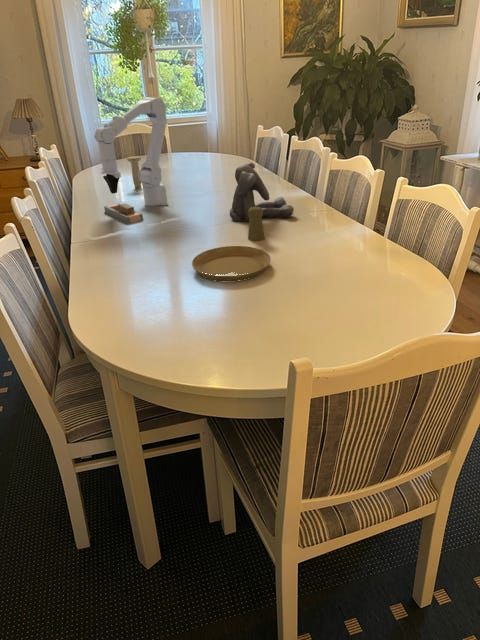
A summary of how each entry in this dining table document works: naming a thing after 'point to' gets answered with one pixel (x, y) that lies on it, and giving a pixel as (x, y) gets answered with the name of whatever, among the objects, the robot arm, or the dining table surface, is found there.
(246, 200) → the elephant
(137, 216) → the rail
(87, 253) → the dining table surface
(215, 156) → the dining table surface
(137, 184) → the handle
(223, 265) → the plant saucer
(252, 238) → the cork
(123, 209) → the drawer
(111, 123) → the robot arm
